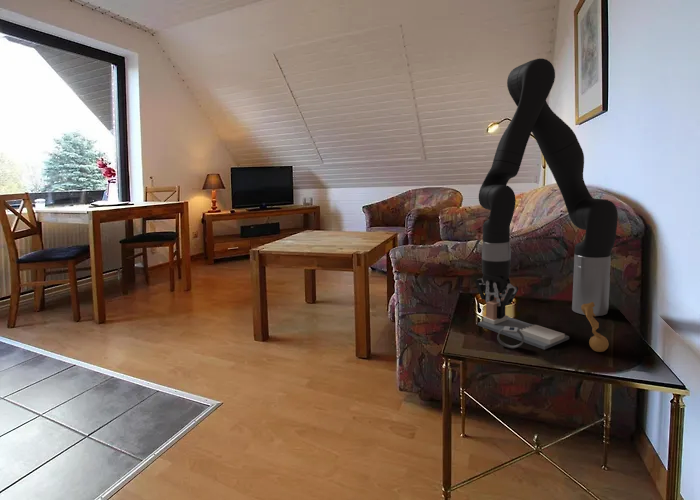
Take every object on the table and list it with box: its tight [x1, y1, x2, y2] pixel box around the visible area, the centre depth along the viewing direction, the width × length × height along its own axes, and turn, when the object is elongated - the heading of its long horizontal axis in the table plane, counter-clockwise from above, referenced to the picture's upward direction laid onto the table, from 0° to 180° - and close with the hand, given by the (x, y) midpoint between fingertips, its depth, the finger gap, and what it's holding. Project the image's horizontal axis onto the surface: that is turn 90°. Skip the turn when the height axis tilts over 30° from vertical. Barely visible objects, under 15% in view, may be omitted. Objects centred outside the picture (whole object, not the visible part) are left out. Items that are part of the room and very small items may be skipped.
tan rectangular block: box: [482, 298, 509, 325], centre depth 123 cm, size 6×4×6 cm, turn 121°
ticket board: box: [477, 316, 570, 351], centre depth 116 cm, size 10×21×2 cm, turn 31°
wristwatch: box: [496, 326, 525, 349], centre depth 107 cm, size 6×3×5 cm, turn 62°
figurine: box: [581, 302, 609, 353], centre depth 102 cm, size 8×6×12 cm
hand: (495, 316), depth 123 cm, fingers closed on tan rectangular block, 2 cm apart
